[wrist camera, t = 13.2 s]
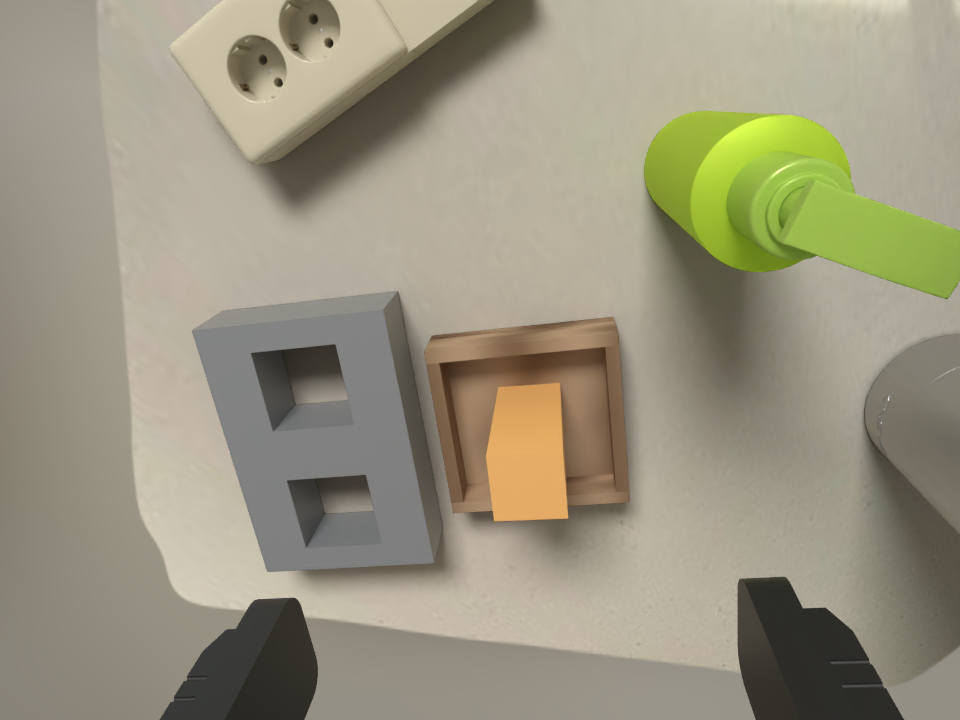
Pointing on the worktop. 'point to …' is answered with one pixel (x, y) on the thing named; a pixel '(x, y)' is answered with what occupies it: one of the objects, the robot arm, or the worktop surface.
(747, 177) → the soap dispenser
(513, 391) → the plug
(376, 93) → the worktop surface
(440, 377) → the tray
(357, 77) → the electrical outlet
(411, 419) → the cinder block
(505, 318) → the worktop surface
